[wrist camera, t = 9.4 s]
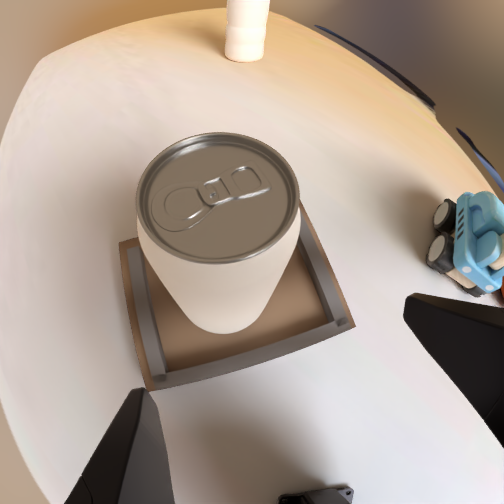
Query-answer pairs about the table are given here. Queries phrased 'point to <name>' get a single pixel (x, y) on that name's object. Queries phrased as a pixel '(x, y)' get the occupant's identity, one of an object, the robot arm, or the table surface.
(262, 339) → the dock
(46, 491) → the table surface
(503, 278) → the fruit
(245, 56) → the water bottle
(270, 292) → the can
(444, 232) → the toy excavator
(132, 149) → the table surface
